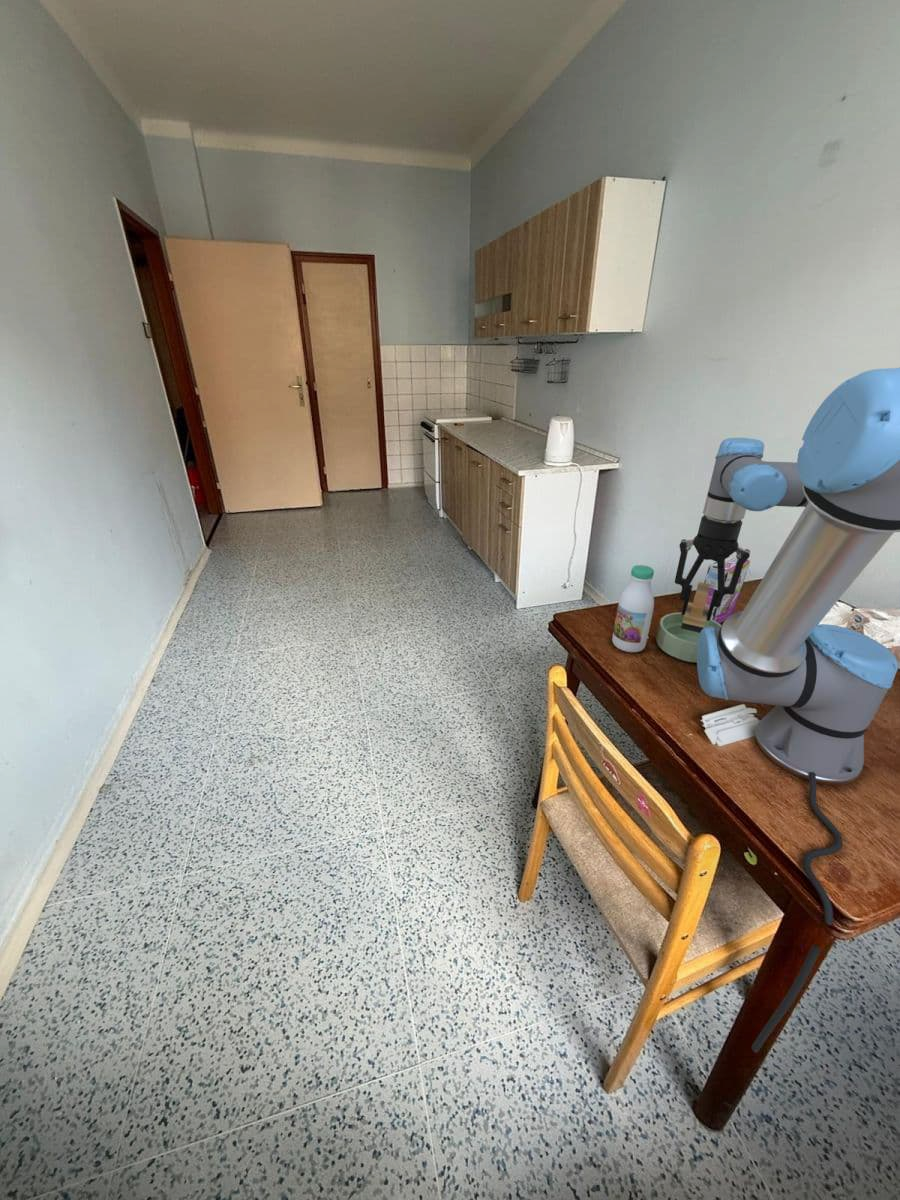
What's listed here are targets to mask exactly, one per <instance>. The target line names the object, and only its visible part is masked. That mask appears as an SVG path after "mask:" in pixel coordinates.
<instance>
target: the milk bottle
mask: <svg viewBox="0 0 900 1200" xmlns="http://www.w3.org/2000/svg"><path fill="white" fill-rule="evenodd" d="M654 572H655V571H654V569H653V568H652V567H650V566H648V565H643V564H638V565H633V566H632V567H631V571H630V581H629V582H628V585H627V586H626V587H625V589H624V590H623V591H622V593H621V594H620V597H619V600H618V604H617V609H616V614H615V620H614V626H613V631H612V638H611V641H612V644H613V646H615V647H616V648H617V649H619V650H620V651H624V652H626V653H627V652H628V653H638V652H641V651H643V650H645V648H646V646H647V642H648V636H649V633H650V629H651V628H650V627H651V623H652V619H653V613H654V608H655V597H654V593H653V590H652V584H651V583H652V581H653V577H654Z"/></svg>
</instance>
